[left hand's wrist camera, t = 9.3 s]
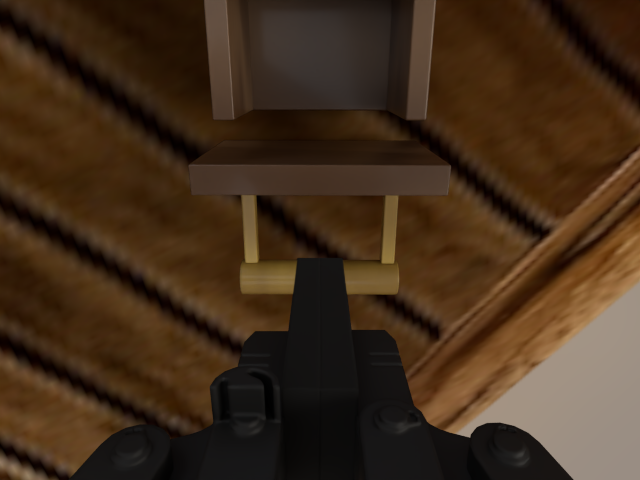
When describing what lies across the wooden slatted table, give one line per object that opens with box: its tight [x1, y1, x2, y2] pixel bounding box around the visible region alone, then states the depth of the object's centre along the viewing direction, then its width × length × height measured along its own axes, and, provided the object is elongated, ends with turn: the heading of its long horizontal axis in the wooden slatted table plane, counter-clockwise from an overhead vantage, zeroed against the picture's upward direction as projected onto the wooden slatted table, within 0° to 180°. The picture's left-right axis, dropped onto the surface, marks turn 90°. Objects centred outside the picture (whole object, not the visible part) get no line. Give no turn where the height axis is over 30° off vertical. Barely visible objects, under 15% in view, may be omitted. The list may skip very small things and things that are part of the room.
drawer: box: [188, 0, 451, 294], centre depth 19 cm, size 21×10×7 cm, turn 0°
